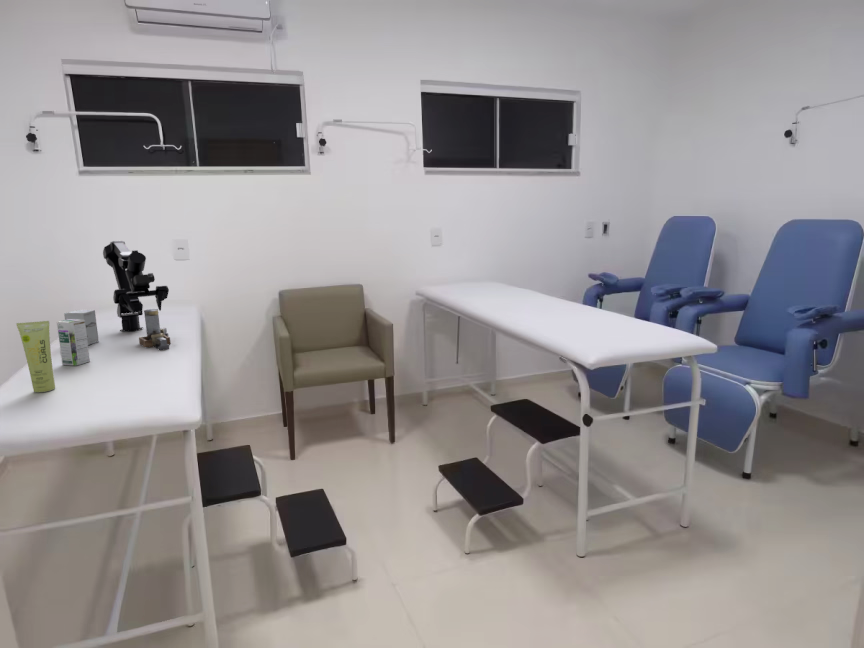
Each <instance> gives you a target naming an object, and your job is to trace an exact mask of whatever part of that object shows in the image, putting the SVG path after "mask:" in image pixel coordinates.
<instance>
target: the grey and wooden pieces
mask: <svg viewBox="0 0 864 648" xmlns="http://www.w3.org/2000/svg"><path fill="white" fill-rule="evenodd" d="M160 332H161V334H155V335H151V337H152V346H154V348H155V347H156V348H155V349H157V350H158V349H159V350H158V351H163V349H164V350H169V349H170V346H169V345H170V344H167V339H165V338H164V335H166V336H168V337H169V333H168V332H167V327H160ZM163 334H164V335H163Z"/></svg>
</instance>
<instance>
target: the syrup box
mask: <svg viewBox="0 0 864 648" xmlns="http://www.w3.org/2000/svg"><path fill="white" fill-rule="evenodd" d="M56 328H57V329H56V330H57V334H58V336H57V337H58V342H59V349H60V358H61V364H62V366H74V367H77V366H80V365H83V364H86V363H90V361H91V360H90V359H91V358H90V352H89V345H88V342H87V334H86V326H85V320H75V319H67V320H65V319H63V320H59V321H56Z"/></svg>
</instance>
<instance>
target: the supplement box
mask: <svg viewBox="0 0 864 648" xmlns="http://www.w3.org/2000/svg"><path fill="white" fill-rule="evenodd" d="M63 315H64V320H67V319H75V320H85V326H86V334H87V342H88V346H90V345H93V344H95V343H99V342H100V341H99V332H98V324H97V318H96V310H95V309H77V310H76V309H75V310H73V311H68V312H65V313H64V314H63Z"/></svg>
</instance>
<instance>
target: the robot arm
mask: <svg viewBox="0 0 864 648" xmlns="http://www.w3.org/2000/svg"><path fill="white" fill-rule="evenodd" d="M103 247H104V248H103V250H102V255H103V259H104V260H105V261H106V264H107V265H108V266H109V267H111V268H112V270H113V274H114V277H115V280H116V284H117V287H118V289H115V290H113V297H112V298H113V303H114V304H117V306H116V307H117V309H116V315H117V317H119V319H121V328H122V329H119V332H137V331H140V330H143V329H144V327H141V325H140V316H143V313H144V312H143V309H144V305H143V303H142V301H141V300H140V298H145V297H146V298H147V297H155V302H156V306H157V309H158V311H160V312H161V310H162V303H163V302H164V301H165V300H166V299H168V295H169V287H168V285H156V286H155V289H153V290H149V289H150V288H151V285H150V283H154V282H155V279H156V278H155V275H154V273H153V272H150V273H149V272H148V273H147V274H144V269H145V264H146V262H147V261H146V260H147V257H146V255H144V254H143V253H141V252H140V251H138V250H130V249H129V248H128V247H127V245H126V243H125V241H123V240H113V241H110V242H109V244H108V245H106V246H103ZM142 328H143V329H142ZM139 329H140V330H139ZM136 330H137V331H136Z"/></svg>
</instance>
